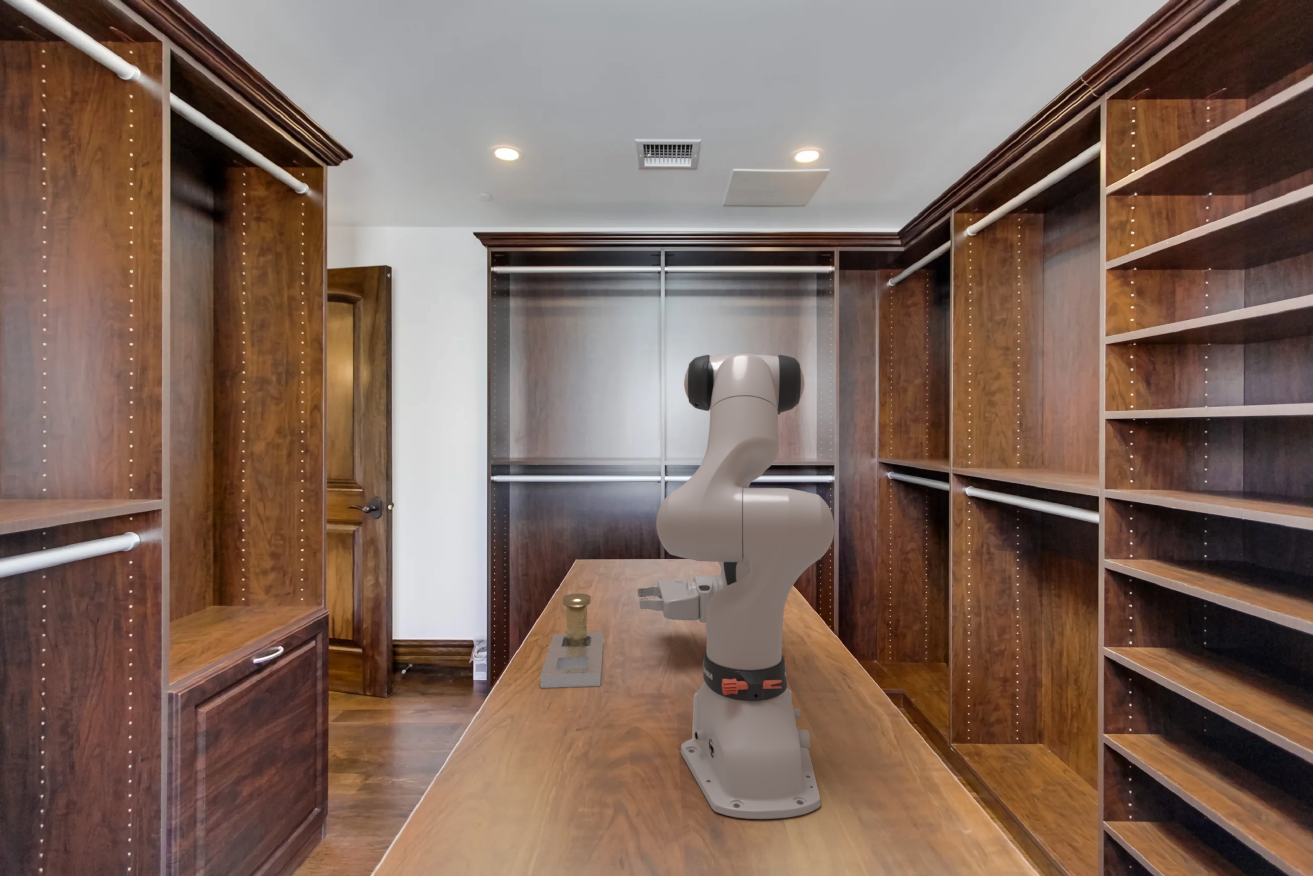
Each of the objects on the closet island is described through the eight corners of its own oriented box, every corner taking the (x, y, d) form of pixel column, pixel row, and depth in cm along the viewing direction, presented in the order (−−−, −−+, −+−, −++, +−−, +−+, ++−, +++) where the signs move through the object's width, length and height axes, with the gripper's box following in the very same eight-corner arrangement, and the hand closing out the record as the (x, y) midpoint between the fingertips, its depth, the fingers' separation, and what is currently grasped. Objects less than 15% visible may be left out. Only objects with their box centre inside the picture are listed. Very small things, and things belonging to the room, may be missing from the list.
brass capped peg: (590, 657, 122) (589, 601, 122) (561, 658, 122) (561, 601, 121) (591, 647, 128) (591, 593, 128) (564, 648, 128) (564, 593, 127)
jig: (600, 686, 108) (599, 672, 108) (540, 688, 107) (540, 674, 107) (603, 643, 130) (603, 632, 130) (553, 645, 129) (553, 634, 129)
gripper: (695, 571, 136) (636, 572, 135) (709, 593, 115) (640, 594, 114) (695, 599, 136) (636, 600, 135) (710, 625, 115) (640, 627, 114)
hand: (638, 597), depth 124 cm, fingers open, 8 cm apart
